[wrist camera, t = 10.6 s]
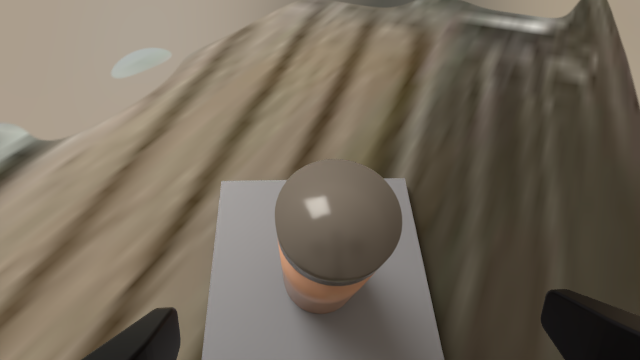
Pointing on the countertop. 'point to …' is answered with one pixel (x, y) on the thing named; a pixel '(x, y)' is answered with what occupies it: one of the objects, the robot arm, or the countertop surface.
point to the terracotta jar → (334, 231)
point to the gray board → (292, 321)
